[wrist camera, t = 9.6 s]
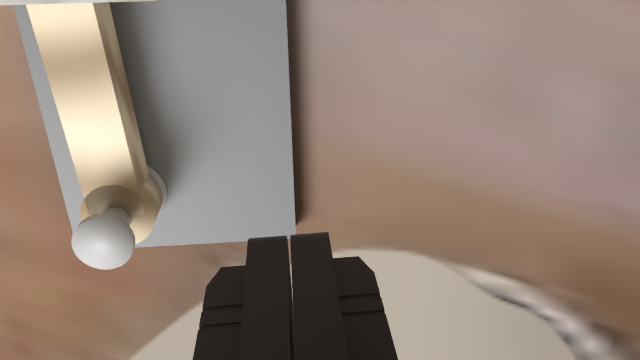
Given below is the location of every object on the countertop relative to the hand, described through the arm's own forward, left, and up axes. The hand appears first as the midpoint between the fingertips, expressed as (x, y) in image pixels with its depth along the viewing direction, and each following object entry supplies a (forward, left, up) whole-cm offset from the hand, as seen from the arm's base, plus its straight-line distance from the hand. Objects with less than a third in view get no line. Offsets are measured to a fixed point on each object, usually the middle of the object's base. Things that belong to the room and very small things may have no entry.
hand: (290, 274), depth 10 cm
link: (+2, -10, -20) cm, 23 cm away
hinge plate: (+1, -7, -23) cm, 23 cm away
